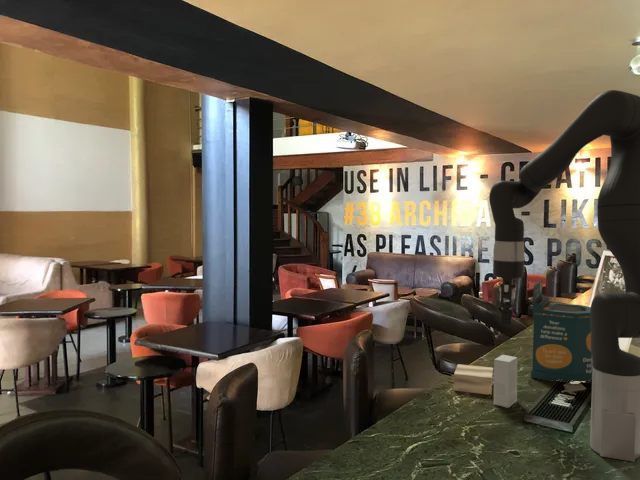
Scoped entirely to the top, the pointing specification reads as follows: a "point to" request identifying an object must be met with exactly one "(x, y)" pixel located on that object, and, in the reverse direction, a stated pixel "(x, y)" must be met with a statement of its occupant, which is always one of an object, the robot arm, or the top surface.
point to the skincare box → (505, 380)
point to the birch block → (473, 379)
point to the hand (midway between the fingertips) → (507, 320)
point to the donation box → (560, 340)
